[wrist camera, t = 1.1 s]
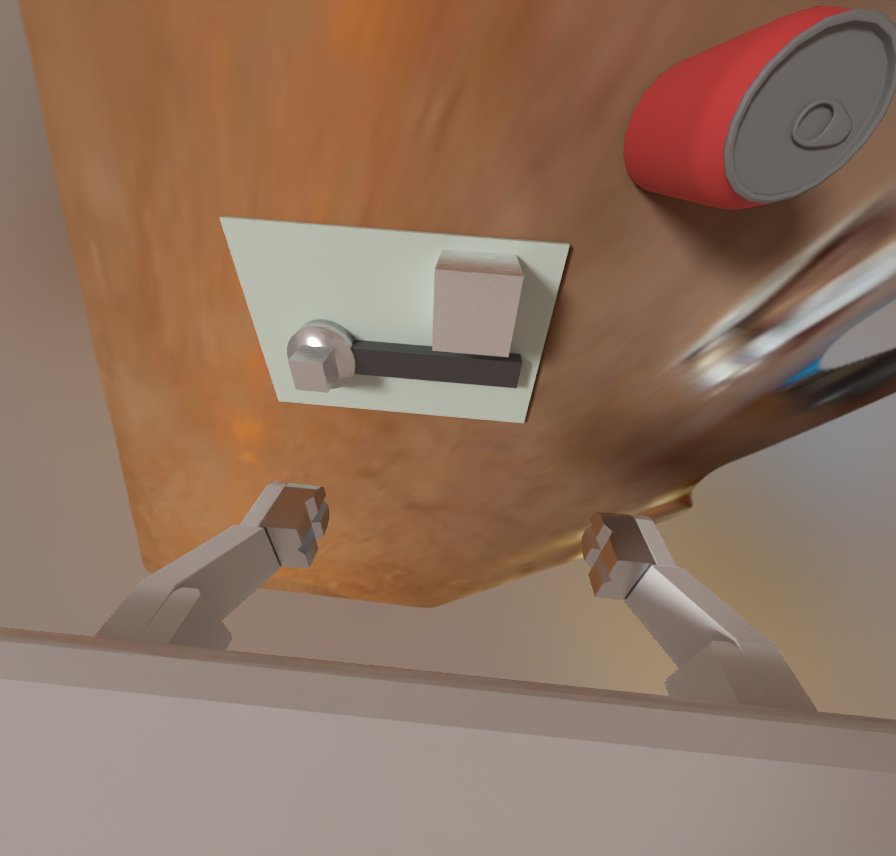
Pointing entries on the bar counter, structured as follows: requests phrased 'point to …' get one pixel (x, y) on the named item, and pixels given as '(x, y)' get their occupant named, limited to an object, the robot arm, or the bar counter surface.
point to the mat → (383, 306)
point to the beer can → (765, 110)
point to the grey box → (475, 302)
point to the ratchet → (386, 361)
